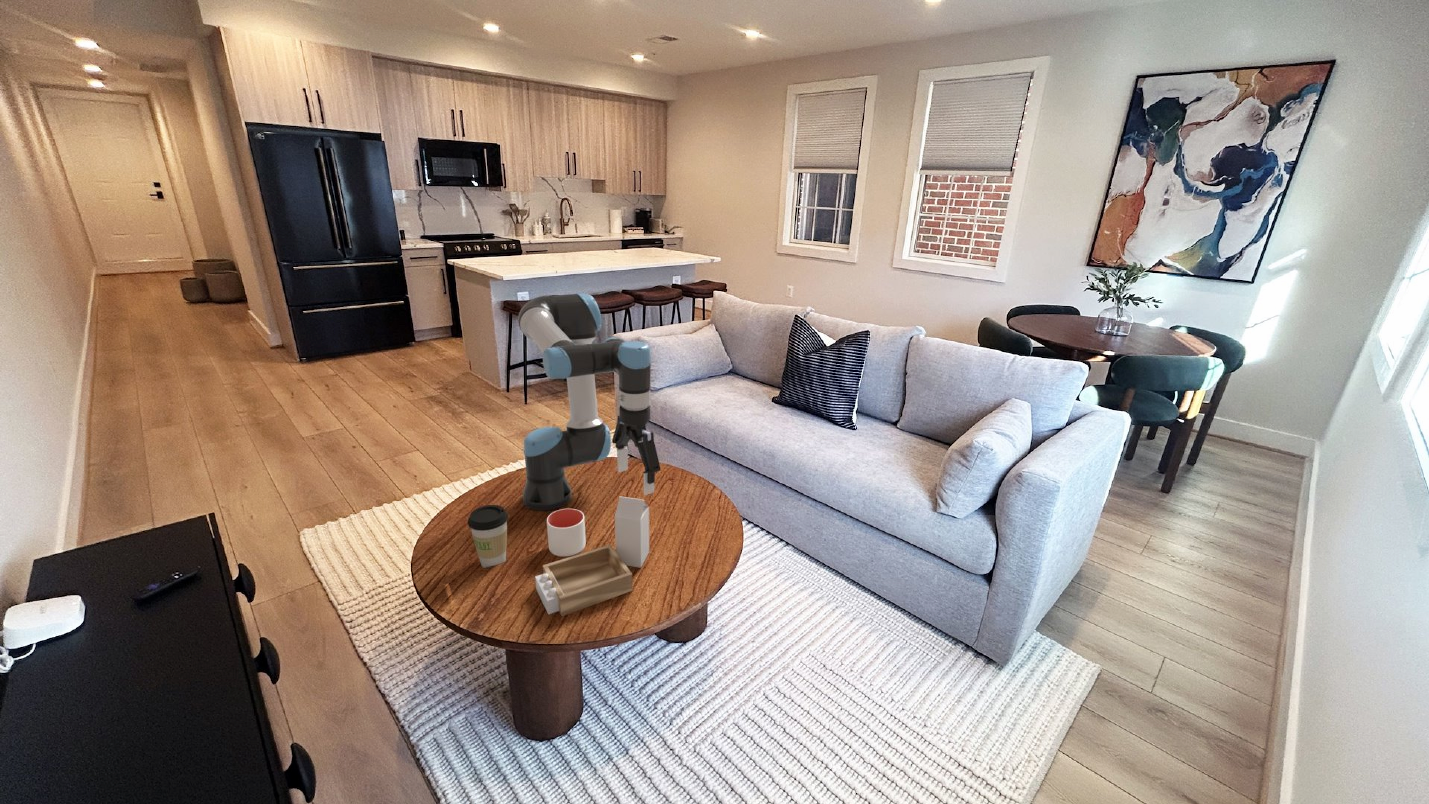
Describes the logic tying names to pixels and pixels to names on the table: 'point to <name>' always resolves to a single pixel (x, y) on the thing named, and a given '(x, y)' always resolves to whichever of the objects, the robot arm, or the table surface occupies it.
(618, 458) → the robot arm
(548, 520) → the cup
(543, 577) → the egg box
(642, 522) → the milk carton
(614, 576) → the crate
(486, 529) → the coffee cup
